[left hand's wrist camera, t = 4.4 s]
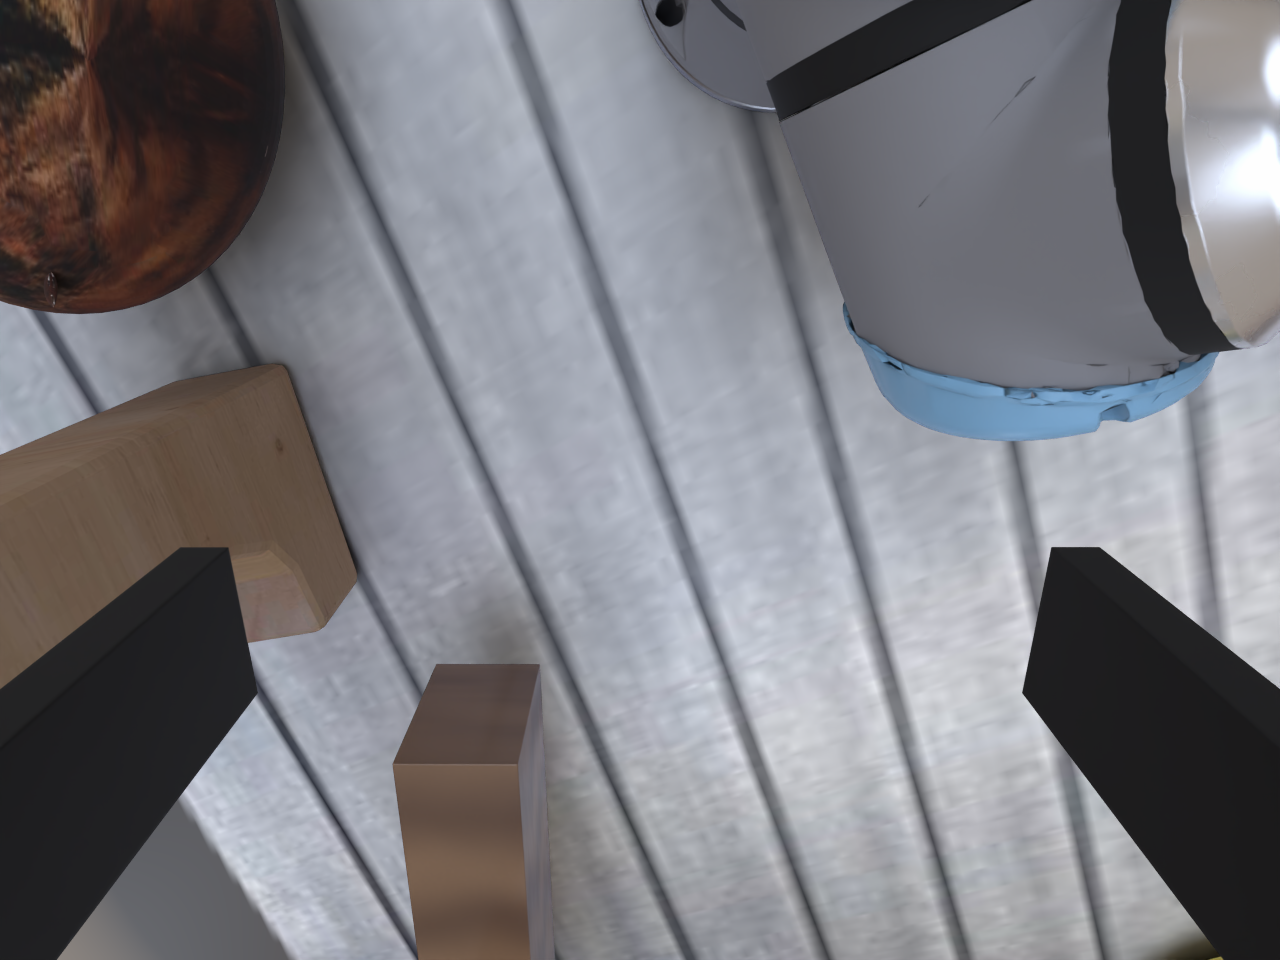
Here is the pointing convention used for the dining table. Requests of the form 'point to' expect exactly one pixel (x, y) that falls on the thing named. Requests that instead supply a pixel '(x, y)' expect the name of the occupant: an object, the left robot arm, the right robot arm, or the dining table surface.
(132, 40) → the cat face balloon
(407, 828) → the bar
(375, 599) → the dining table surface
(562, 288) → the dining table surface
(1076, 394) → the left robot arm
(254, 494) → the decorative block
